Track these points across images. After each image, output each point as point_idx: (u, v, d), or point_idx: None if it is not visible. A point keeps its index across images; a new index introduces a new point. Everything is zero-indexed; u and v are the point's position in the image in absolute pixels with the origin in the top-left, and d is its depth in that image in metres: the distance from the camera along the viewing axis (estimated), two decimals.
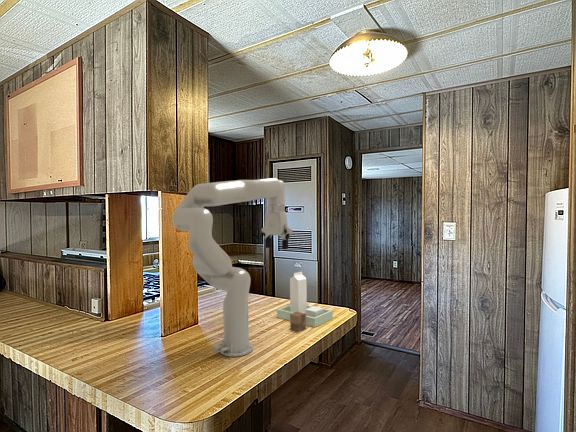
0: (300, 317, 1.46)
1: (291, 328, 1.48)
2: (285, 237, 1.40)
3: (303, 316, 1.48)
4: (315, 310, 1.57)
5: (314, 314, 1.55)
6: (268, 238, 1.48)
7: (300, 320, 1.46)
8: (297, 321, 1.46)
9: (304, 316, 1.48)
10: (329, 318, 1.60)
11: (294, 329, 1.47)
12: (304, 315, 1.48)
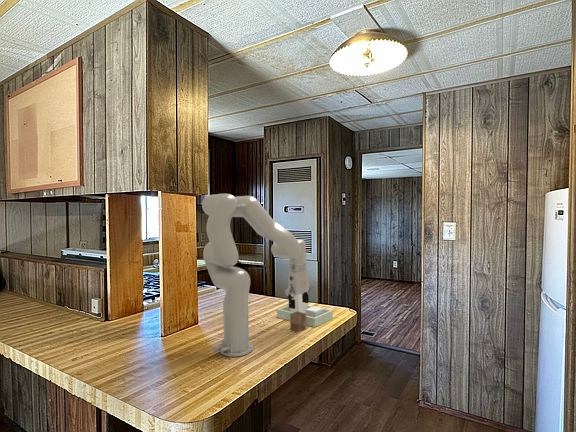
0: (300, 317, 1.46)
1: (291, 328, 1.48)
2: None
3: (303, 316, 1.48)
4: (315, 310, 1.57)
5: (314, 314, 1.55)
6: None
7: (300, 320, 1.46)
8: (297, 321, 1.46)
9: (304, 316, 1.48)
10: (329, 318, 1.60)
11: (294, 329, 1.47)
12: (304, 315, 1.48)
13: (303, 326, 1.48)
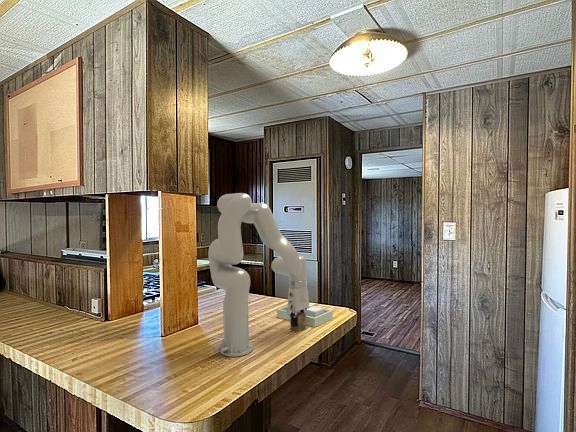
0: (300, 317, 1.46)
1: (291, 328, 1.48)
2: None
3: (303, 316, 1.48)
4: (315, 310, 1.57)
5: (314, 314, 1.55)
6: None
7: (300, 320, 1.46)
8: (297, 321, 1.46)
9: (304, 316, 1.48)
10: (329, 318, 1.60)
11: (294, 329, 1.47)
12: (304, 315, 1.48)
13: (303, 326, 1.48)
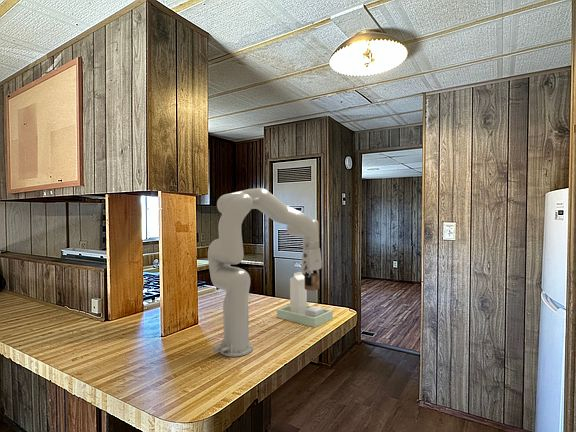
0: (314, 277, 1.54)
1: (305, 288, 1.57)
2: (318, 272, 1.60)
3: (316, 276, 1.56)
4: (315, 310, 1.57)
5: (314, 314, 1.55)
6: None
7: (314, 279, 1.54)
8: (311, 280, 1.54)
9: (317, 276, 1.56)
10: (329, 318, 1.60)
11: (308, 288, 1.56)
12: (317, 275, 1.57)
13: (317, 285, 1.56)
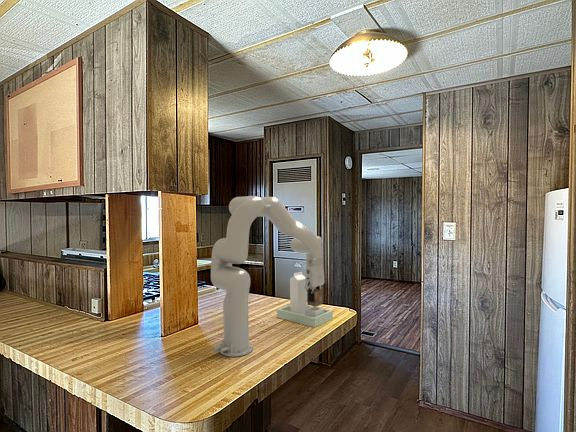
0: (317, 293, 1.56)
1: (308, 303, 1.59)
2: (321, 288, 1.62)
3: (319, 292, 1.58)
4: (315, 310, 1.57)
5: (314, 314, 1.55)
6: None
7: (317, 295, 1.56)
8: (314, 296, 1.56)
9: (320, 292, 1.58)
10: (329, 318, 1.60)
11: (311, 304, 1.58)
12: (320, 291, 1.59)
13: (319, 301, 1.58)
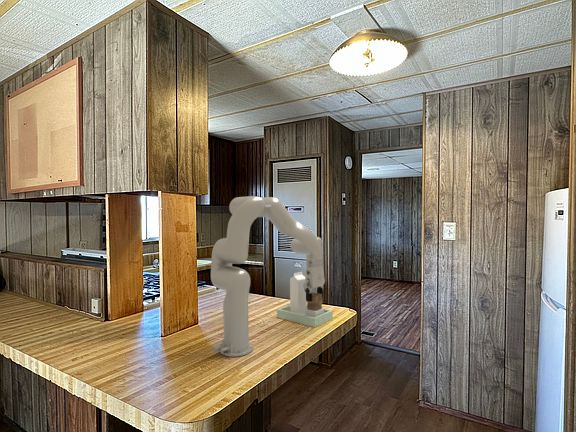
0: (317, 297, 1.56)
1: (308, 307, 1.59)
2: (322, 286, 1.63)
3: (319, 296, 1.58)
4: None
5: (314, 314, 1.55)
6: None
7: (317, 300, 1.56)
8: (314, 301, 1.56)
9: (320, 296, 1.58)
10: (329, 318, 1.60)
11: (311, 308, 1.57)
12: (320, 295, 1.59)
13: (319, 305, 1.58)
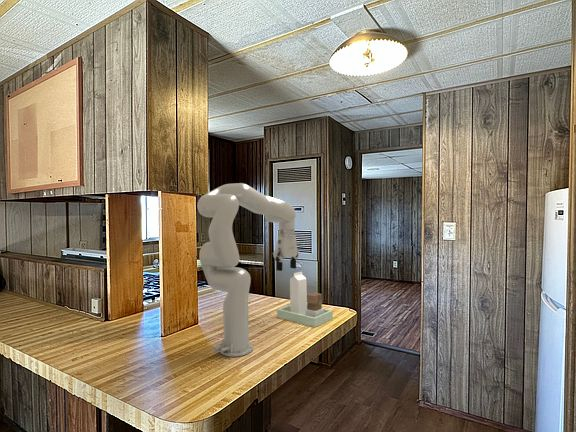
0: (317, 297, 1.56)
1: (308, 308, 1.58)
2: None
3: (319, 296, 1.58)
4: None
5: (314, 314, 1.55)
6: None
7: (317, 300, 1.56)
8: (314, 301, 1.56)
9: (320, 296, 1.58)
10: (329, 318, 1.60)
11: (311, 308, 1.57)
12: (320, 295, 1.59)
13: (319, 306, 1.58)
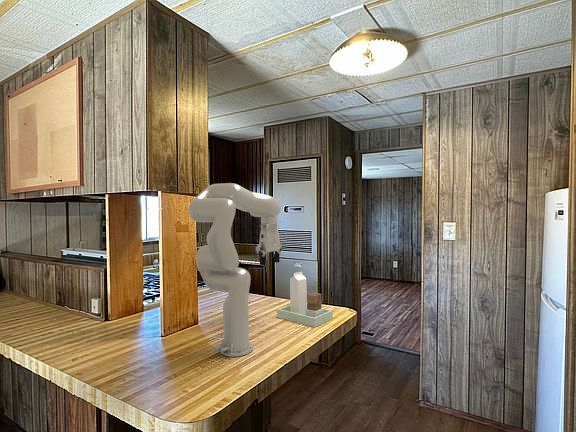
0: (317, 297, 1.56)
1: (308, 308, 1.58)
2: (279, 251, 1.60)
3: (319, 296, 1.58)
4: None
5: (314, 314, 1.55)
6: None
7: (317, 300, 1.56)
8: (314, 301, 1.56)
9: (319, 296, 1.58)
10: (329, 318, 1.60)
11: (311, 308, 1.57)
12: (320, 295, 1.59)
13: (319, 305, 1.58)
